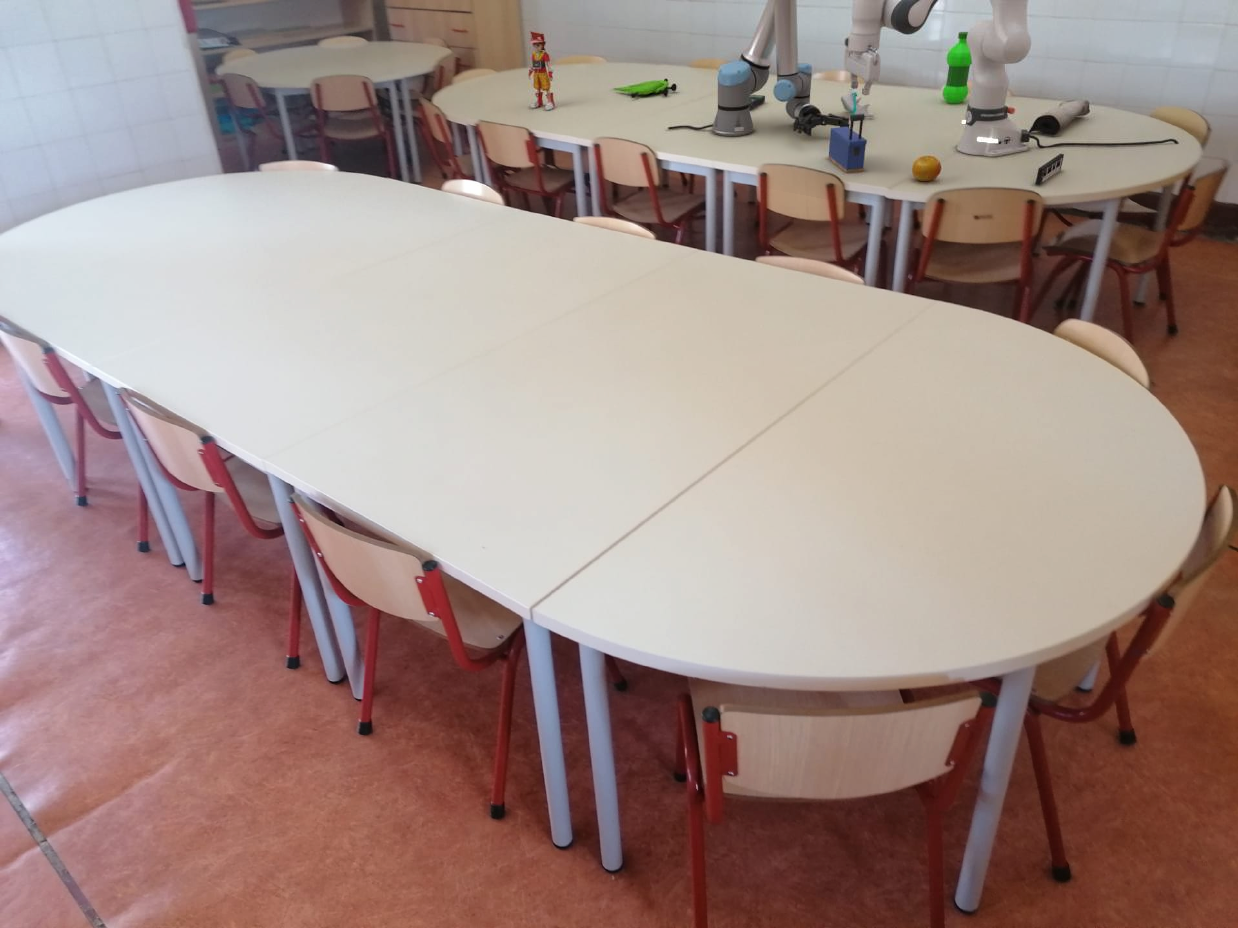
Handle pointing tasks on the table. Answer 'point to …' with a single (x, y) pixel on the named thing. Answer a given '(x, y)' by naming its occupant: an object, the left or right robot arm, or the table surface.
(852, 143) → the lid
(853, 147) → the chest
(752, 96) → the disk drive
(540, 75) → the toy
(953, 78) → the plastic bottle
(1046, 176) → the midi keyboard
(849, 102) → the anatomical model
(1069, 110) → the rolled mat
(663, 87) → the toy
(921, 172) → the fruit
